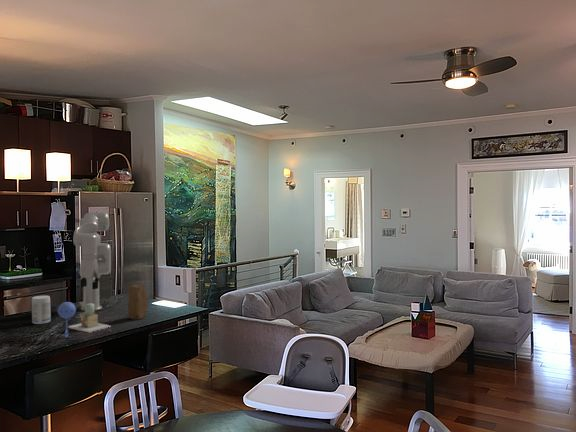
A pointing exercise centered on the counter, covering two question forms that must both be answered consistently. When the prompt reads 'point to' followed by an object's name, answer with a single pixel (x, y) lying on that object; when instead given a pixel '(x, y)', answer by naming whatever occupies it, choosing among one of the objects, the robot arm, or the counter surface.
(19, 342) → the counter surface
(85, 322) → the oak cube
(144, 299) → the block
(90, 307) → the sage drum
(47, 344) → the counter surface
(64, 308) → the baby rattle
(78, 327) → the plan board
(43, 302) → the supplement tub
